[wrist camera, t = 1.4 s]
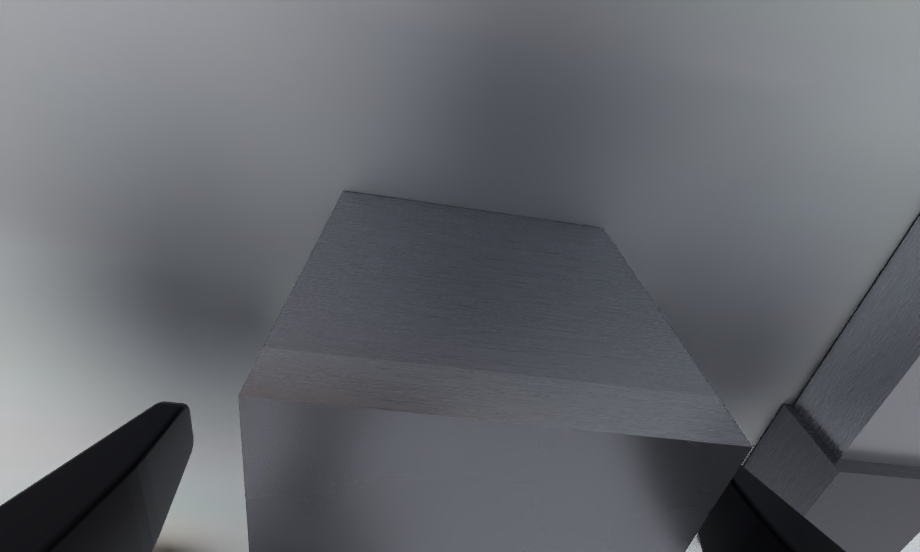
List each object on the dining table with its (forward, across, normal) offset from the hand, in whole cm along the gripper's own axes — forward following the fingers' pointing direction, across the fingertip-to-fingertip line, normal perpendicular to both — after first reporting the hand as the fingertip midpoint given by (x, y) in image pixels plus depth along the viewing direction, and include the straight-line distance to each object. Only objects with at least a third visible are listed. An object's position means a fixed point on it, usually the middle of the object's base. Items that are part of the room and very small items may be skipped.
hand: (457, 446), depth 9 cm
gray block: (+4, 0, 0) cm, 4 cm away
